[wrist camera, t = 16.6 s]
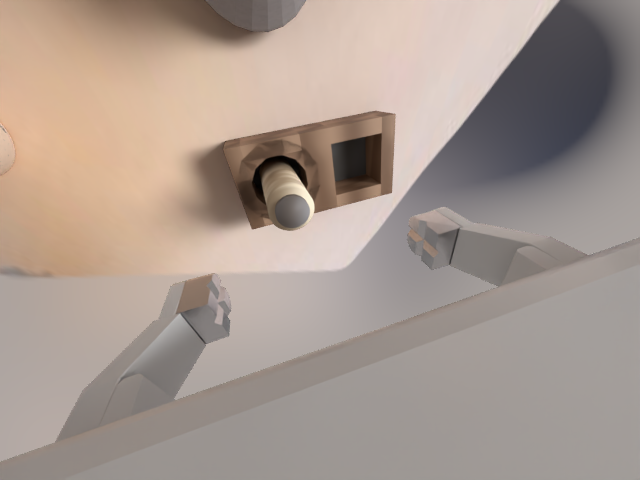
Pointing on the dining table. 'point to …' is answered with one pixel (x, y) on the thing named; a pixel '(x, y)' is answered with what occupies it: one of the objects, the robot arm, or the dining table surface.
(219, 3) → the coffee pot
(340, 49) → the dining table surface
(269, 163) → the oak dowel
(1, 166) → the teacup with lid
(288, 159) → the bit block
